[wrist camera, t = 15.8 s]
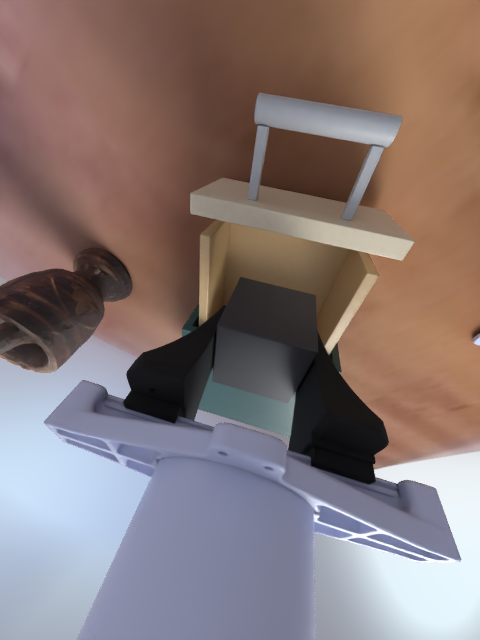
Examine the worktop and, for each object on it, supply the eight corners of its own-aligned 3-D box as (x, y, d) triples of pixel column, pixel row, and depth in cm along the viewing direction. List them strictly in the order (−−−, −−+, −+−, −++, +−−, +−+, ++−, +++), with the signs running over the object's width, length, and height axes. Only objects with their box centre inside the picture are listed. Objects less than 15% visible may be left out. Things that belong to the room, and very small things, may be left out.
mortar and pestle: (73, 203, 24) (-315, 314, 9) (147, 244, 25) (-91, 404, 10) (78, 281, 31) (-129, 412, 17) (134, 310, 33) (-12, 458, 18)
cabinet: (212, 282, 26) (181, 328, 20) (333, 312, 25) (341, 372, 19) (207, 358, 36) (186, 405, 29) (295, 382, 34) (292, 438, 28)
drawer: (227, 95, 15) (187, 76, 10) (427, 129, 14) (493, 126, 9) (213, 304, 27) (192, 342, 22) (320, 331, 26) (323, 378, 21)
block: (293, 346, 17) (288, 404, 14) (232, 330, 18) (211, 382, 14) (316, 294, 14) (319, 352, 10) (240, 276, 14) (216, 325, 11)
